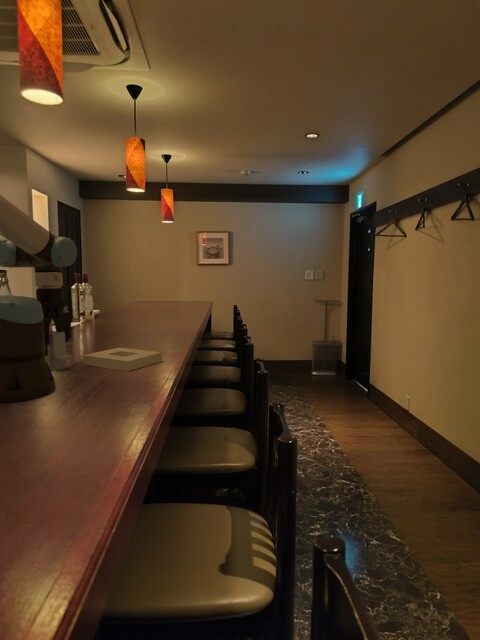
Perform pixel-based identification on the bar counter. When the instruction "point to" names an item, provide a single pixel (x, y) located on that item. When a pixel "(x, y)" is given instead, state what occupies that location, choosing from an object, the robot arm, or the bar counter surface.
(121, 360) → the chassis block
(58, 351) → the servo
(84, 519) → the bar counter surface
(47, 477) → the bar counter surface
